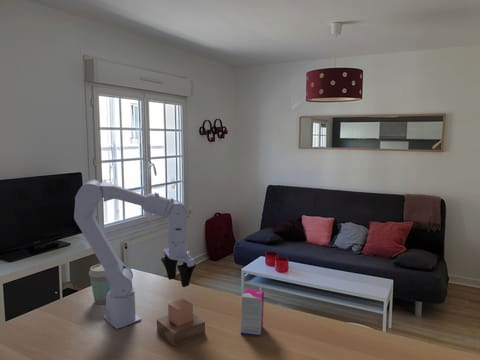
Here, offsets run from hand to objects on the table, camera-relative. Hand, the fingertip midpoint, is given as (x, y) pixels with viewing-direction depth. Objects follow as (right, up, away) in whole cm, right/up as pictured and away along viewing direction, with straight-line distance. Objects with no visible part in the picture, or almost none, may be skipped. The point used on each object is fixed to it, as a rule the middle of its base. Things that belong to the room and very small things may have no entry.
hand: (178, 282), depth 120 cm
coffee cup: (-27, -9, +10) cm, 31 cm away
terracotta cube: (+2, -8, -10) cm, 13 cm away
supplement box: (+23, -12, -9) cm, 27 cm away
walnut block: (+2, -12, -10) cm, 16 cm away
